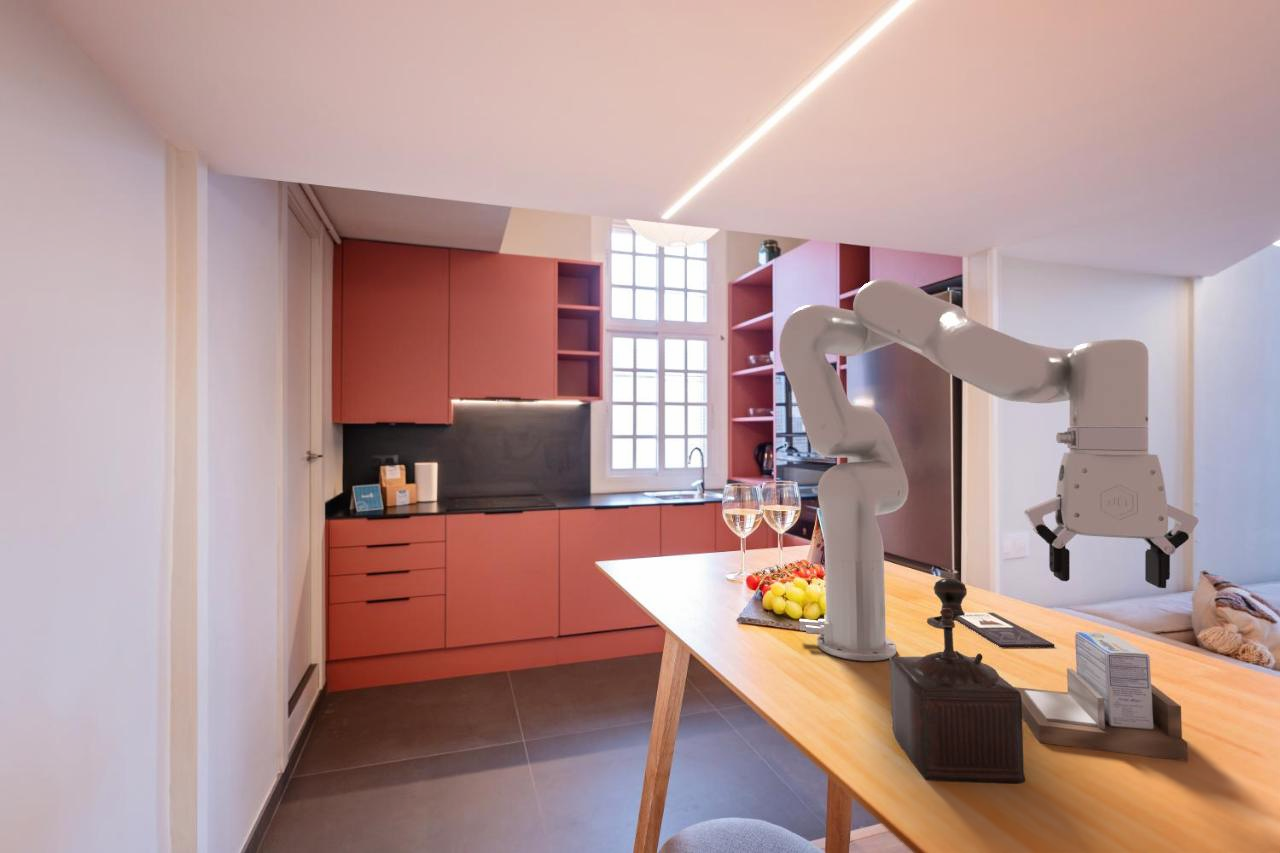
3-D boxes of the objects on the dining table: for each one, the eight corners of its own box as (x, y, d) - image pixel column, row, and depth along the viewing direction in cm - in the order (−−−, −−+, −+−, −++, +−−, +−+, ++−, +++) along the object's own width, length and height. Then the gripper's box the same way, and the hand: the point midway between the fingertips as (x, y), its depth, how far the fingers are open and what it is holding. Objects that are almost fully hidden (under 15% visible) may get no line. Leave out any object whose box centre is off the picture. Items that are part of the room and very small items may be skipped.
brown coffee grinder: (1034, 785, 60) (1029, 609, 60) (923, 781, 61) (919, 608, 61) (963, 714, 75) (959, 574, 76) (875, 711, 76) (872, 574, 77)
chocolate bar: (1000, 644, 99) (947, 613, 117) (1000, 650, 99) (947, 617, 117) (1054, 644, 98) (993, 612, 116) (1054, 649, 98) (993, 617, 116)
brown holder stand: (1039, 742, 68) (1038, 694, 68) (1011, 701, 78) (1010, 660, 79) (1188, 761, 64) (1186, 710, 64) (1136, 715, 74) (1135, 671, 74)
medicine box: (1154, 731, 66) (1152, 655, 66) (1109, 727, 67) (1106, 652, 67) (1116, 701, 74) (1114, 632, 74) (1076, 698, 75) (1073, 630, 75)
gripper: (1036, 442, 70) (1036, 583, 70) (1215, 443, 65) (1215, 596, 65) (1016, 440, 77) (1016, 569, 77) (1177, 442, 72) (1176, 580, 72)
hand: (1107, 581), depth 71 cm, fingers open, 9 cm apart
